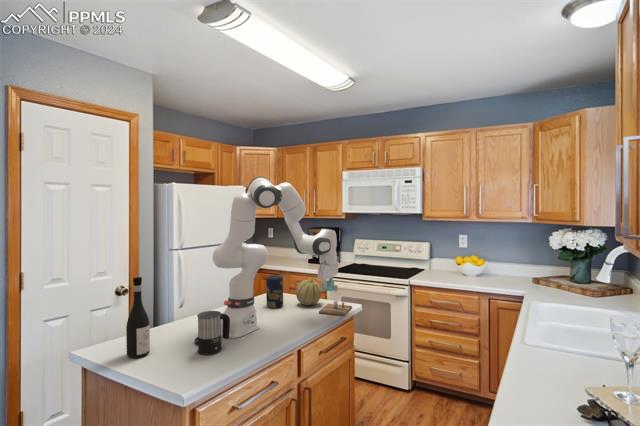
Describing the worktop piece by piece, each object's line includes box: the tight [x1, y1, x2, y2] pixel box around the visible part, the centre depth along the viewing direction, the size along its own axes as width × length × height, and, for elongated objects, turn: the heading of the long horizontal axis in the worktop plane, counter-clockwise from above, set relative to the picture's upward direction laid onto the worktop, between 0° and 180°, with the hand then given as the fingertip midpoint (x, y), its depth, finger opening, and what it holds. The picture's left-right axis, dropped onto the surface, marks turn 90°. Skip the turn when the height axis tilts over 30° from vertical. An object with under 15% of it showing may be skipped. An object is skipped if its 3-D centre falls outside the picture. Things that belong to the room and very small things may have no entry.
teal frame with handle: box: [320, 280, 338, 292], centre depth 192 cm, size 8×5×4 cm
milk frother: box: [193, 310, 230, 356], centre depth 150 cm, size 14×16×15 cm
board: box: [318, 300, 353, 317], centre depth 201 cm, size 16×14×5 cm
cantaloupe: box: [295, 278, 322, 307], centre depth 213 cm, size 15×15×15 cm
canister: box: [265, 274, 284, 309], centre depth 210 cm, size 10×10×18 cm
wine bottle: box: [125, 276, 151, 359], centre depth 143 cm, size 8×8×30 cm
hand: (328, 286), depth 193 cm, fingers closed on teal frame with handle, 5 cm apart
